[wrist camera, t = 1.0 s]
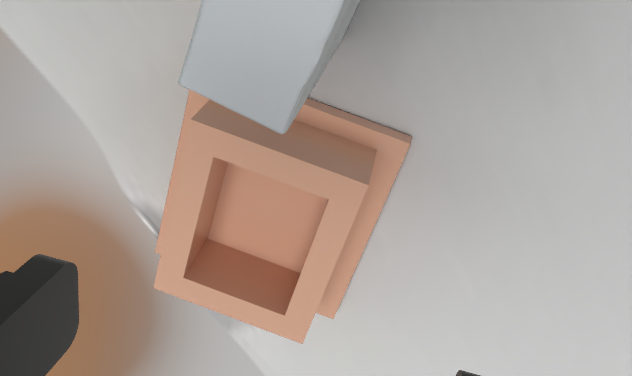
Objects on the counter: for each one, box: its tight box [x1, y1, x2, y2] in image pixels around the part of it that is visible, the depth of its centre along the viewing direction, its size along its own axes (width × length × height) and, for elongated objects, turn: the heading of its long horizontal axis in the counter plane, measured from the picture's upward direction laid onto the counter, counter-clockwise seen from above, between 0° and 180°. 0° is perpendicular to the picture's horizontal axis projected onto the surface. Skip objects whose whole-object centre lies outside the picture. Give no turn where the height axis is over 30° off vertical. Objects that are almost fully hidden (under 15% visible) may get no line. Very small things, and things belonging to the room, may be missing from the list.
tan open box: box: [154, 90, 411, 344], centre depth 34 cm, size 12×13×5 cm
